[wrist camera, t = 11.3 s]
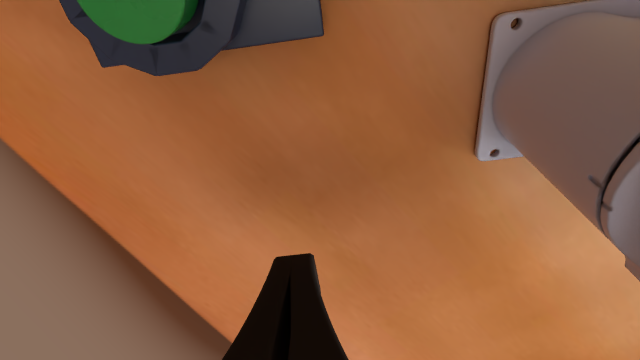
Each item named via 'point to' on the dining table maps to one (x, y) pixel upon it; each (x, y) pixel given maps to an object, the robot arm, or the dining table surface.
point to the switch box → (205, 33)
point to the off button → (140, 17)
